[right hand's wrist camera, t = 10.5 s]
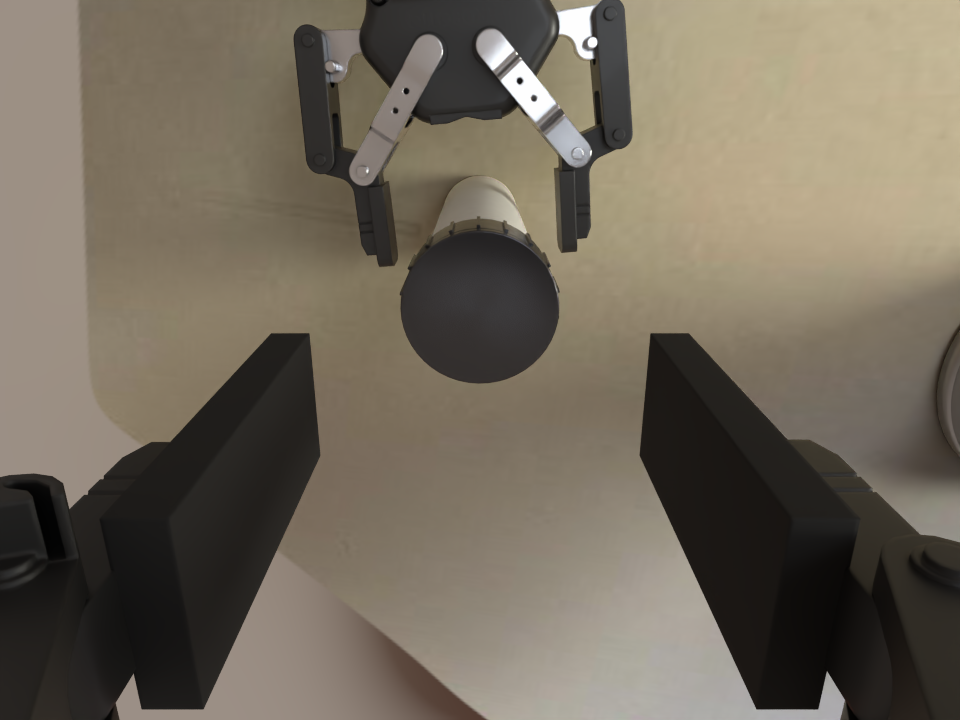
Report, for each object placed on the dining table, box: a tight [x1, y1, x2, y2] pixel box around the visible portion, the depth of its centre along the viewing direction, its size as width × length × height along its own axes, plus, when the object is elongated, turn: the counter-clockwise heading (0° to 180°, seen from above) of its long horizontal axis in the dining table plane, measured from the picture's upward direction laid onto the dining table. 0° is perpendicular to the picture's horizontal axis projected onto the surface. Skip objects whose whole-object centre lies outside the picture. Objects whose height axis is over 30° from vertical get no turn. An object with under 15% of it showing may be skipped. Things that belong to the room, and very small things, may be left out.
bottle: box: [432, 176, 527, 236], centre depth 29 cm, size 4×4×19 cm
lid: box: [400, 216, 560, 383], centre depth 21 cm, size 5×5×2 cm
